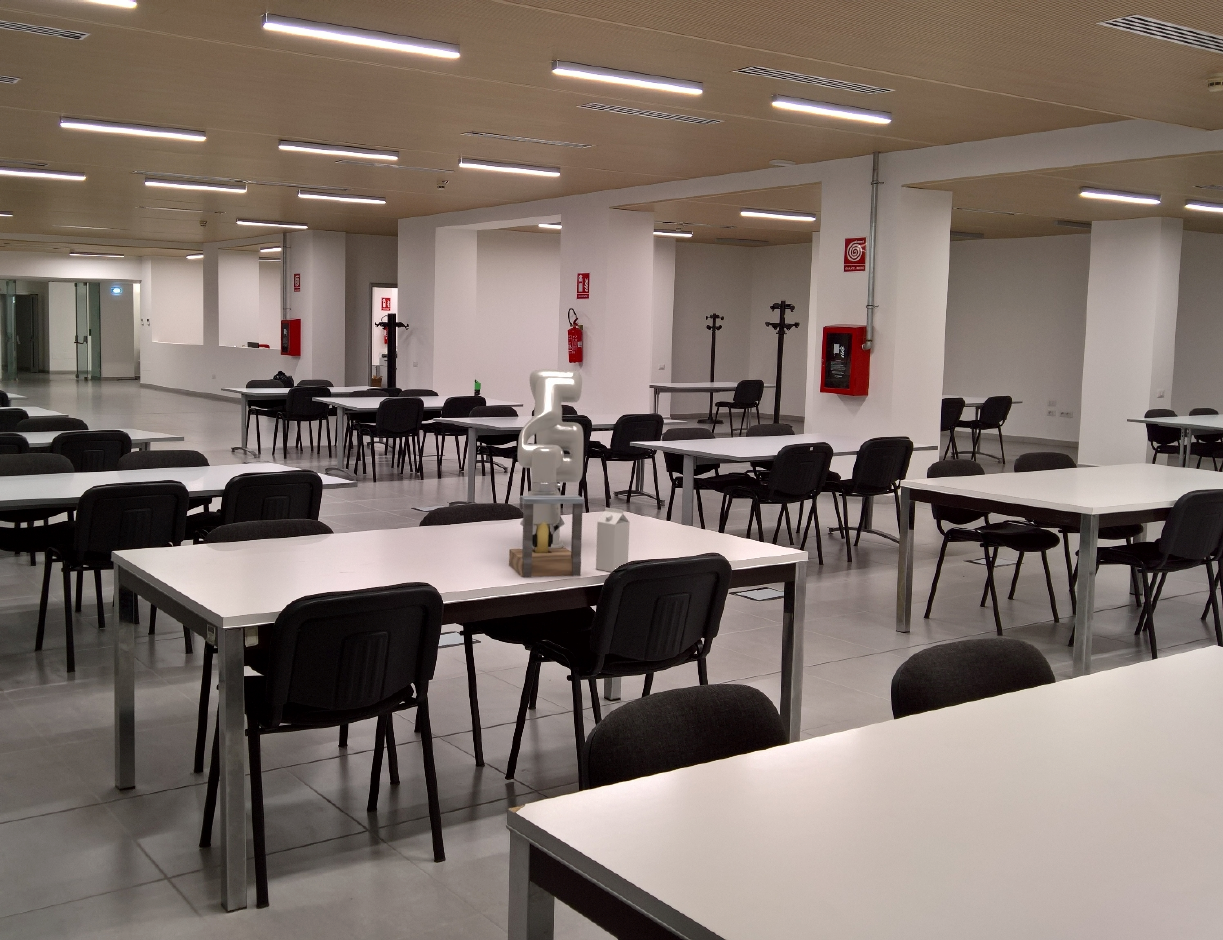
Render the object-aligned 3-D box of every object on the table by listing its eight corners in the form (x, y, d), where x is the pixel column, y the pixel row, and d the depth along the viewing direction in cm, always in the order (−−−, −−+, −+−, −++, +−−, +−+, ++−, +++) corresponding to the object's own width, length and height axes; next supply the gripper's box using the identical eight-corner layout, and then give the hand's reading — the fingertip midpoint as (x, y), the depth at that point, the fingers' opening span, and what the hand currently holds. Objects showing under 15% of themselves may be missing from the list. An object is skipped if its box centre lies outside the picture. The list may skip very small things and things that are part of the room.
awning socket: (509, 564, 348) (511, 490, 346) (565, 563, 354) (567, 489, 351) (523, 577, 330) (525, 499, 327) (581, 576, 335) (584, 498, 333)
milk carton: (610, 566, 352) (612, 506, 350) (627, 569, 347) (630, 509, 345) (595, 569, 346) (597, 508, 344) (613, 572, 342) (615, 511, 340)
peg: (533, 561, 347) (534, 517, 346) (546, 561, 349) (547, 516, 347) (536, 564, 344) (537, 519, 342) (549, 564, 345) (550, 519, 343)
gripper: (566, 485, 350) (564, 543, 352) (514, 486, 345) (512, 544, 347) (572, 489, 342) (571, 548, 345) (519, 489, 337) (517, 549, 340)
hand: (541, 545), depth 346 cm, fingers closed on peg, 3 cm apart
